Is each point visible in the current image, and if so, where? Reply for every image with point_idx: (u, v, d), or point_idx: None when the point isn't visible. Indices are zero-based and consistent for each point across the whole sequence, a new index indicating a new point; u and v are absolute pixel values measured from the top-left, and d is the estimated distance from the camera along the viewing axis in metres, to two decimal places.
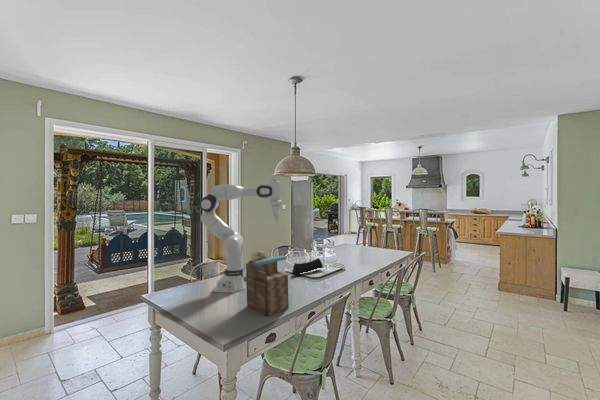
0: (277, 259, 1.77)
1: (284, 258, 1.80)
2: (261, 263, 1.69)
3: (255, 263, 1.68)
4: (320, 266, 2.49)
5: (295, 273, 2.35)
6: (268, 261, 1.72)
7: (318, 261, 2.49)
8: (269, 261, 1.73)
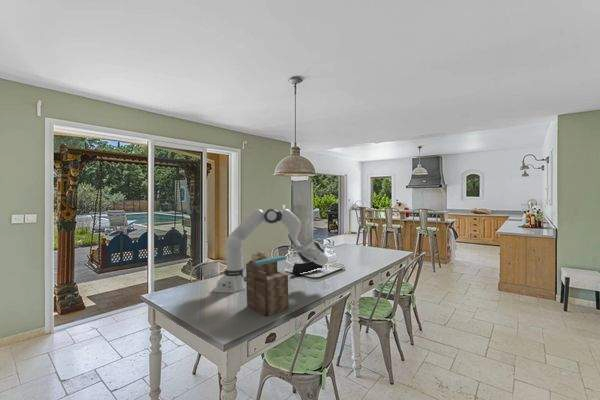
0: (277, 259, 1.77)
1: (284, 258, 1.80)
2: (261, 263, 1.69)
3: (255, 263, 1.68)
4: (320, 266, 2.49)
5: (295, 273, 2.35)
6: (268, 261, 1.72)
7: None
8: (269, 261, 1.73)
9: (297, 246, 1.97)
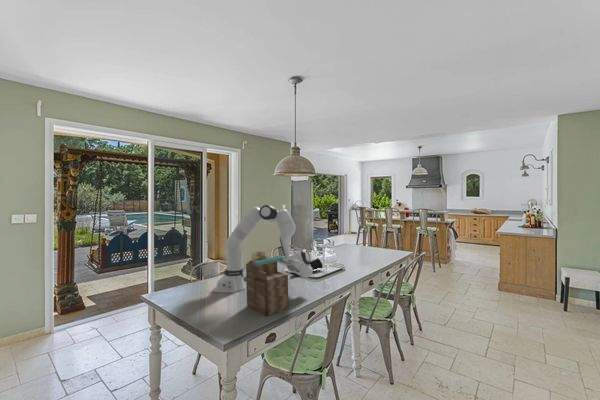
0: (277, 259, 1.77)
1: None
2: (261, 263, 1.69)
3: (255, 263, 1.68)
4: (320, 266, 2.49)
5: (295, 273, 2.35)
6: (268, 261, 1.72)
7: (318, 261, 2.48)
8: (269, 261, 1.73)
9: None
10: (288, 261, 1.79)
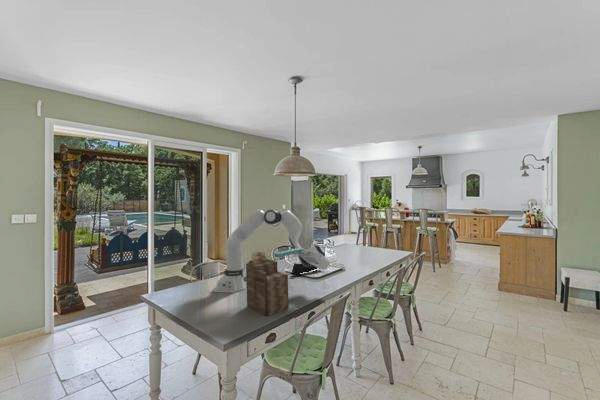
0: (296, 251, 1.79)
1: None
2: (282, 255, 1.71)
3: (276, 255, 1.70)
4: None
5: (295, 273, 2.35)
6: (288, 253, 1.74)
7: None
8: (289, 253, 1.75)
9: None
10: (307, 253, 1.81)
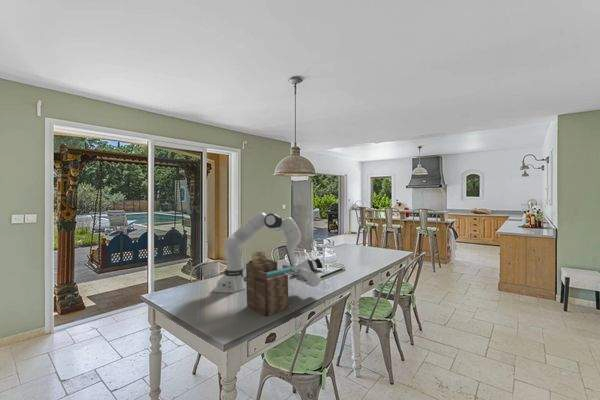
0: (285, 271, 1.71)
1: (292, 270, 1.75)
2: (269, 276, 1.63)
3: None
4: (320, 266, 2.49)
5: None
6: (276, 273, 1.67)
7: (317, 261, 2.48)
8: (277, 273, 1.67)
9: (287, 266, 1.81)
10: (297, 271, 1.73)
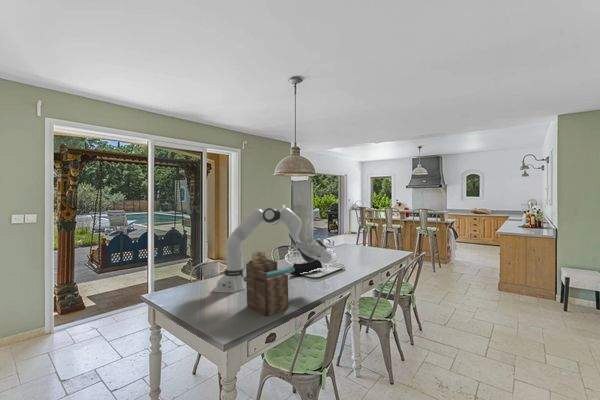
0: (285, 271, 1.71)
1: (292, 270, 1.75)
2: (269, 276, 1.63)
3: None
4: (319, 266, 2.49)
5: (294, 273, 2.35)
6: (276, 273, 1.67)
7: (317, 261, 2.48)
8: (277, 273, 1.67)
9: (300, 243, 1.89)
10: (312, 246, 1.80)
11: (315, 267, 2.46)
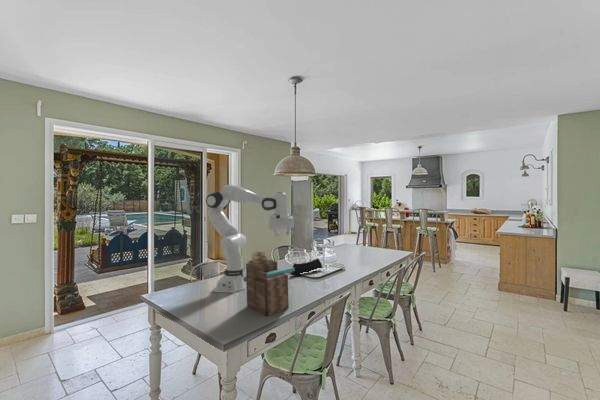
0: (285, 271, 1.71)
1: (292, 270, 1.75)
2: (269, 276, 1.63)
3: None
4: (319, 266, 2.49)
5: (294, 273, 2.34)
6: (276, 273, 1.67)
7: (317, 261, 2.48)
8: (277, 273, 1.67)
9: (287, 228, 2.02)
10: (274, 230, 1.93)
11: (315, 267, 2.46)
